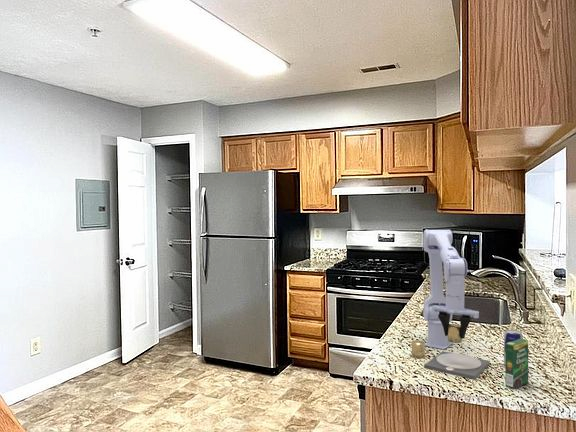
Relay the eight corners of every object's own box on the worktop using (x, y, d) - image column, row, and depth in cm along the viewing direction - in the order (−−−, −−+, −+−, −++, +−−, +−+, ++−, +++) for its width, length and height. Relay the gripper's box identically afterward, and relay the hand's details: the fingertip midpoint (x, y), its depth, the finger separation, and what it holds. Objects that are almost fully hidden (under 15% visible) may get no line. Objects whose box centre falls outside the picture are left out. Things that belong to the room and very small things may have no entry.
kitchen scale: (442, 353, 160) (442, 349, 160) (489, 363, 150) (490, 359, 150) (424, 367, 147) (424, 363, 147) (474, 379, 137) (474, 374, 137)
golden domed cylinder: (450, 338, 150) (450, 323, 149) (464, 340, 147) (464, 325, 147) (445, 341, 146) (445, 326, 146) (459, 344, 143) (459, 328, 143)
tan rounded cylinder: (414, 353, 161) (414, 339, 161) (426, 355, 159) (426, 341, 158) (409, 356, 158) (409, 342, 158) (421, 359, 155) (421, 345, 155)
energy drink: (512, 372, 143) (512, 334, 143) (500, 366, 148) (500, 330, 148) (526, 370, 144) (526, 333, 144) (513, 364, 150) (513, 328, 149)
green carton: (513, 389, 129) (514, 345, 129) (504, 386, 132) (504, 342, 132) (529, 383, 134) (529, 340, 133) (519, 380, 136) (520, 337, 136)
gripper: (428, 294, 147) (428, 335, 148) (474, 300, 138) (474, 343, 139) (436, 291, 153) (436, 330, 153) (481, 296, 144) (480, 338, 144)
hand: (454, 336), depth 146 cm, fingers closed on golden domed cylinder, 4 cm apart
